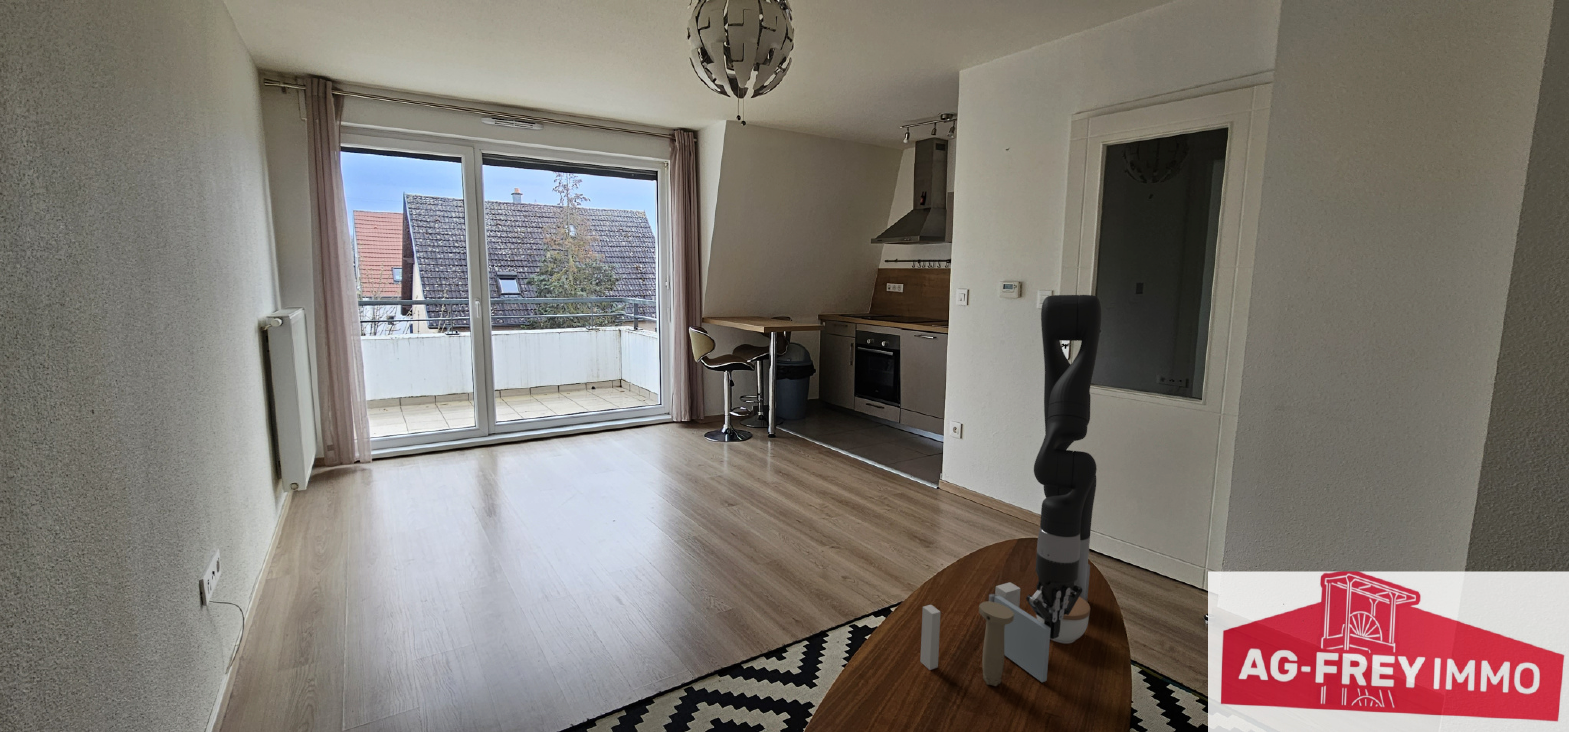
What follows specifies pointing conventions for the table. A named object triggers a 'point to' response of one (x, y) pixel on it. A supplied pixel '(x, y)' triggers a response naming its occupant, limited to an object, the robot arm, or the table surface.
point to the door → (1026, 640)
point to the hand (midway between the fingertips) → (1051, 635)
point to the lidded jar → (1073, 622)
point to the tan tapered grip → (994, 640)
